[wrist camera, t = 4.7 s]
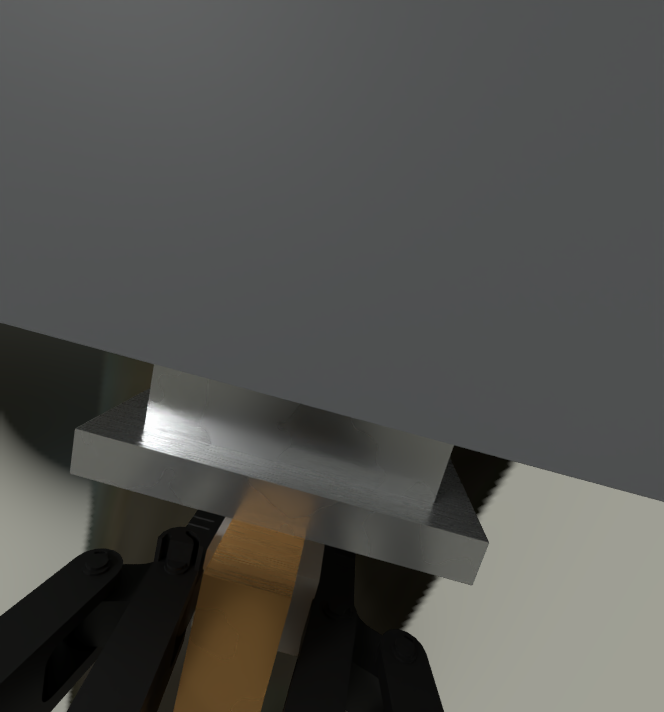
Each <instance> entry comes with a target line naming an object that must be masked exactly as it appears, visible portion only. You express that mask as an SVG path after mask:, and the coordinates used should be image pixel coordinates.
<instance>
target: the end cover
mask: <svg viewBox="0 0 664 712" xmlns="http://www.w3.org/2000/svg"><path fill="white" fill-rule="evenodd" d="M453 447H454V445H452V444H448V443H444V442H441V441H437V440H433V439H430V438H426V437H422V436H418V435H415V434H411V433H407V432H404V431H400V430H396V429H393V428H389V427H385V426H381V425H378V424H374V423H370V422H367V421H363V420H359V419H356V418H352V417H348V416H345V415H341V414H337V413H333V412H330V411H326V410H322V409H319V408H315V407H311V406H308V405H304V404H300V403H296V402H293V401H289V400H285V399H282V398H278V397H274V396H271V395H267V394H263V393H259V392H256V391H252V390H248V389H245V388H241V387H237V386H234V385H230V384H226V383H222V382H219V381H215V380H211V379H208V378H204V377H200V376H197V375H193V374H189V373H185V372H182V371H178V370H174V369H171V368H167V367H163V366H160V365H156V364H154V369H153V376H152V382H151V388H149V389H147V390H146V391H144V392H142V393H140V394H138V395H136V396H134V397H133V398H131V399H129V400H127V401H125V402H123V403H122V404H120V405H118V406H116V407H114V408H112V409H111V410H109V411H107V412H105V413H103V414H101V415H100V416H98V417H96V418H94V419H92V420H90V421H88V422H87V423H85V424H83V425H81V426H79V427H78V428H76V429H75V436H74V444H73V452H72V460H71V469H70V474H73V475H77V476H81V477H84V478H88V479H91V480H95V481H99V482H102V483H106V484H109V485H113V486H117V487H120V488H124V489H127V490H131V491H134V492H138V493H142V494H145V495H149V496H152V497H156V498H160V499H163V500H167V501H170V502H174V503H178V504H181V505H185V506H188V507H192V508H196V509H199V510H203V511H206V512H210V513H213V514H217V515H221V516H224V517H228V518H231V519H232V521H231V522H230V524H229V526H228V528H227V530H226V532H225V534H224V536H223V537H222V539H221V541H220V543H219V545H218V547H217V549H216V551H215V552H214V554H213V556H212V558H211V560H210V562H209V564H208V566H207V567H206V569H205V571H204V573H203V577H202V581H201V586H200V591H199V595H198V600H197V605H196V609H195V614H194V619H193V623H192V628H191V633H190V637H189V642H188V647H187V651H186V656H185V661H184V665H183V670H182V675H181V679H180V684H179V689H178V693H177V698H176V703H175V707H174V712H260V711H261V708H262V704H263V700H264V697H265V693H266V689H267V686H268V682H269V679H270V675H271V671H272V668H273V664H274V661H275V657H276V653H277V650H278V646H279V642H280V639H281V635H282V632H283V628H284V624H285V621H286V617H287V614H288V610H289V606H290V603H291V599H292V595H293V590H294V586H295V581H296V577H297V572H298V568H299V563H300V559H301V554H302V550H303V545H304V541H305V539H307V540H310V541H314V542H318V543H321V544H325V545H328V546H332V547H336V548H339V549H343V550H346V551H350V552H354V553H357V554H361V555H364V556H368V557H371V558H375V559H379V560H382V561H386V562H389V563H393V564H397V565H400V566H404V567H407V568H411V569H415V570H418V571H422V572H425V573H429V574H433V575H436V576H440V577H443V578H447V579H451V580H455V581H458V582H461V583H465V584H468V585H473V582H474V579H475V577H476V575H477V572H478V569H479V567H480V564H481V562H482V559H483V557H484V554H485V552H486V549H487V547H488V544H489V542H488V539H487V537H486V535H485V533H484V531H483V528H482V526H481V524H480V522H479V520H478V518H477V515H476V513H475V511H474V509H473V507H472V505H471V502H470V500H469V498H468V496H467V494H466V492H465V489H464V487H463V485H462V483H461V481H460V478H459V476H458V474H457V472H456V470H455V468H454V465H453V463H452V461H451V459H450V455H451V452H452V449H453Z"/></svg>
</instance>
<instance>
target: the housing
mask: <svg viewBox="0 0 664 712" xmlns="http://www.w3.org/2000/svg"><path fill="white" fill-rule="evenodd" d="M0 323H5V324H8V325H12V326H15V327H19V328H23V329H26V330H30V331H34V332H37V333H41V334H45V335H49V336H52V337H56V338H60V339H63V340H67V341H71V342H74V343H79V344H82V345H86V346H90V347H93V348H97V349H100V350H104V351H108V352H111V353H115V354H119V355H123V356H126V357H130V358H134V359H137V360H141V361H145V362H148V363H152V364H156V365H160V366H163V367H167V368H171V369H174V370H178V371H182V372H185V373H189V374H193V375H197V376H200V377H204V378H208V379H211V380H215V381H219V382H222V383H226V384H230V385H234V386H237V387H241V388H245V389H248V390H252V391H256V392H259V393H263V394H267V395H271V396H274V397H278V398H282V399H285V400H289V401H293V402H296V403H300V404H304V405H308V406H311V407H315V408H319V409H322V410H326V411H330V412H333V413H337V414H341V415H345V416H348V417H352V418H356V419H359V420H363V421H367V422H370V423H374V424H378V425H381V426H385V427H389V428H393V429H396V430H400V431H404V432H407V433H411V434H415V435H418V436H422V437H426V438H430V439H433V440H437V441H441V442H444V443H448V444H452V445H455V446H459V447H463V448H467V449H470V450H474V451H478V452H481V453H485V454H489V455H492V456H496V457H500V458H504V459H507V460H511V461H515V462H518V463H522V464H526V465H530V466H533V467H537V468H541V469H545V470H548V471H552V472H555V473H559V474H563V475H566V476H570V477H574V478H578V479H581V480H585V481H589V482H593V483H596V484H600V485H604V486H607V487H611V488H615V489H619V490H622V491H626V492H630V493H633V494H637V495H641V496H644V497H648V498H652V499H656V500H659V501H663V502H664V0H0Z"/></svg>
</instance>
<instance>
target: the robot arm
mask: <svg viewBox="0 0 664 712" xmlns="http://www.w3.org/2000/svg"><path fill="white" fill-rule="evenodd" d="M231 521H232V519H231V518H228V517H224V516H221V515H217V514H213V513H210V512H206V511H203V510H199V509H198V510H197V512H196V513H195V515H194V517H193V518H192V519H191V520H190V522H189V524H188V525H187V526H186V527H176V528H171V529H169V530H166V531H164V532H163V533H162V534H161V535H160V536H159V537H158V541H157V547H156V552H155V558H154V562H151V563H147V564H123V560H122V557H121V555H120V554H118V553H117V552H115V551H114V550H109V549H94V550H90V551H87V552H84V553H82V554H81V555H79V556H77V557H76V558H75V559H73V560H72V561H71V562H69V563H68V564H67V565H66V566H64V567H63V568H62V569H60V571H58V572H56V573H55V574H54V575H53V576H51V577H50V578H49V579H47V580H46V581H45V582H44V583H42V584H41V585H40V586H39V587H37V588H36V589H35V590H33V591H32V592H31V593H30V594H28V595H27V596H26V597H24V598H23V599H22V600H20V601H19V602H18V603H17V604H16V605H14V606H13V607H11V608H10V609H9V610H8V611H6V612H5V613H4V614H2V615H1V616H0V712H51V711H52V710H53V708H54V707H55V706H56V705H57V704H58V703H59V702H60V701H61V699H62V698H63V697H64V696H65V695H66V694H67V693H68V692H69V690H70V689H71V688H72V687H73V686H74V685H75V684H76V682H77V681H78V680H79V679H80V678H81V677H82V676H83V674H84V673H85V672H86V671H87V670H88V669H89V668H90V666H91V665H92V664H93V663H94V662H95V661H96V662H95V664H94V665H93V667H92V669H91V671H90V672H89V674H88V676H87V678H86V679H85V681H84V683H83V684H82V686H81V688H80V690H79V691H78V693H77V695H76V697H75V698H74V700H73V702H72V703H71V705H70V707H69V709H68V710H67V712H157V710H158V708H159V705H160V702H161V700H162V697H163V694H164V692H165V689H166V686H167V684H168V681H169V679H170V676H171V673H172V671H173V668H174V665H175V663H176V660H177V657H178V655H179V652H180V649H181V647H182V644H183V642H184V637H185V632H186V628H187V626H188V624H189V622H190V620H191V618H192V622H191V626H192V623H193V619H194V614H195V609H196V605H197V600H198V595H199V591H200V586H201V581H202V577H203V573H204V571H205V569H206V567H207V566H208V564H209V562H210V560H211V558H212V556H213V554H214V552H215V551H216V549H217V547H218V545H219V543H220V541H221V539H222V537H223V536H224V534H225V532H226V530H227V528H228V526H229V524H230V522H231ZM354 569H355V553H354V552H350V551H346V550H343V549H339V548H336V547H332V546H328V545H325V544H321V543H318V542H314V541H310V540H307V539H305V541H304V545H303V550H302V554H301V559H300V563H299V568H298V572H297V577H296V581H295V586H294V590H293V595H292V599H291V603H290V606H289V610H288V614H287V617H286V621H285V624H284V628H283V632H282V635H281V639H280V642H279V646H278V650H277V651H280V652H284V653H287V654H291V655H294V656H298V659H297V662H296V665H295V669H294V672H293V676H292V679H291V683H290V686H289V689H288V694H287V698H286V701H285V705H284V709H283V712H345V710H346V711H348V712H444V710H443V707H442V704H441V701H440V697H439V694H438V691H437V687H436V684H435V681H434V678H433V674H432V671H431V667H430V665H429V661H428V658H427V654H426V652H425V650H424V648H423V646H422V645H421V644H420V642H419V641H418V640H417V639H416V638H415V637H413V636H412V635H411V634H409V633H408V632H405V631H402V630H399V629H393V630H389V631H387V632H385V633H384V634H383V636H382V635H381V634H379V633H377V632H376V631H374V630H372V629H371V628H370V627H368V626H367V625H366V624H365V623H364V622H363V621H362V620H361V619H360V618H359V616H358V615H357V611H356V609H355V607H354V577H355V570H354ZM192 616H193V617H192ZM298 653H299V654H298Z"/></svg>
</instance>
